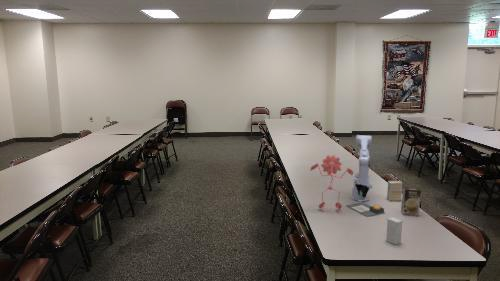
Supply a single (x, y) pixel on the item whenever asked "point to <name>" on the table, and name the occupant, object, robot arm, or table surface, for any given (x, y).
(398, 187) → the supplement box
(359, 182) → the robot arm
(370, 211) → the slate board
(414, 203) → the coffee box
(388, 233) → the skincare box
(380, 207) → the button
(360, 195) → the teal bottle
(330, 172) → the figurine
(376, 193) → the table surface
